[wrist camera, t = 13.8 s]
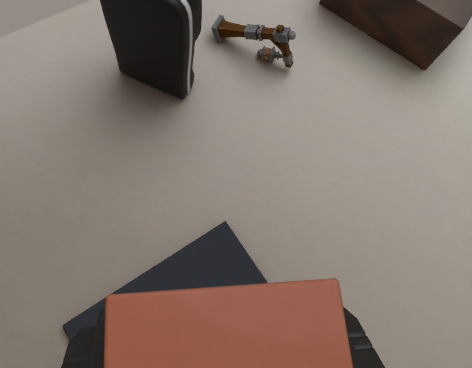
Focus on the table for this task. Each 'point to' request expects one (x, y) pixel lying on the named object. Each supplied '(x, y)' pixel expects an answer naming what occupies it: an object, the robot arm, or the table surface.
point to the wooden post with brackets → (258, 37)
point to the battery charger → (155, 40)
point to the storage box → (407, 23)
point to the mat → (187, 272)
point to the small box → (229, 327)
